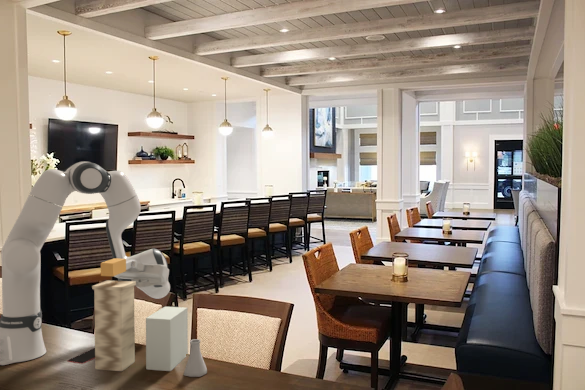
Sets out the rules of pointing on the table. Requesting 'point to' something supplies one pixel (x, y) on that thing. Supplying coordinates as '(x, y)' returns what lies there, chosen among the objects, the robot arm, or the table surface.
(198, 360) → the flask
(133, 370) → the table surface
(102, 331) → the high stand
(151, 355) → the pale green block
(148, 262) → the robot arm
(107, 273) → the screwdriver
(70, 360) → the smartphone
